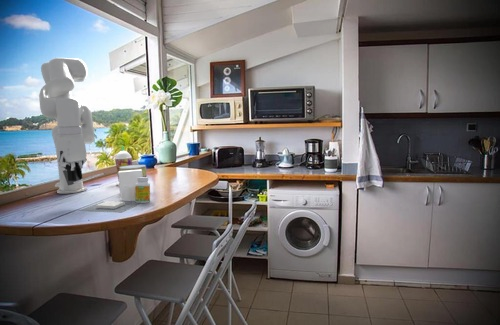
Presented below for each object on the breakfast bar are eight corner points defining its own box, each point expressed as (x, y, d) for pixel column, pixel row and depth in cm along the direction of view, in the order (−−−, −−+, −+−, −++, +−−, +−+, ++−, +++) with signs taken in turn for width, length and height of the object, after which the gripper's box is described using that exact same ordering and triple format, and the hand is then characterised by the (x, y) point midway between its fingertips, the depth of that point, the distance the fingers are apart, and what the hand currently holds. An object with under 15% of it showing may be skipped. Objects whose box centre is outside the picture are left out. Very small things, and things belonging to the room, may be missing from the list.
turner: (65, 186, 120) (60, 171, 119) (75, 183, 124) (70, 169, 124) (95, 176, 116) (89, 161, 115) (104, 174, 121) (98, 159, 120)
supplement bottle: (136, 203, 120) (136, 177, 120) (134, 202, 125) (134, 177, 125) (151, 202, 123) (151, 177, 123) (148, 201, 127) (148, 177, 127)
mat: (78, 212, 114) (77, 210, 114) (103, 203, 127) (102, 201, 126) (121, 214, 110) (121, 212, 110) (143, 204, 122) (142, 202, 122)
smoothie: (117, 182, 170) (113, 145, 167) (133, 181, 173) (130, 144, 171) (117, 185, 162) (113, 146, 160) (134, 183, 166) (131, 145, 163)
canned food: (151, 189, 149) (150, 164, 147) (141, 195, 138) (139, 168, 136) (128, 190, 150) (126, 165, 148) (116, 195, 139) (114, 168, 137)
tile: (95, 205, 116) (114, 205, 114) (106, 201, 122) (125, 201, 120) (96, 208, 116) (114, 209, 114) (107, 204, 122) (125, 204, 120)
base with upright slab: (121, 203, 125) (118, 173, 123) (120, 198, 133) (117, 170, 131) (145, 200, 128) (142, 171, 127) (143, 196, 136) (140, 168, 135)
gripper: (77, 130, 127) (82, 175, 130) (43, 133, 111) (49, 184, 114) (94, 130, 125) (98, 176, 128) (61, 133, 110) (67, 185, 113)
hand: (75, 179), depth 121 cm, fingers closed on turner
